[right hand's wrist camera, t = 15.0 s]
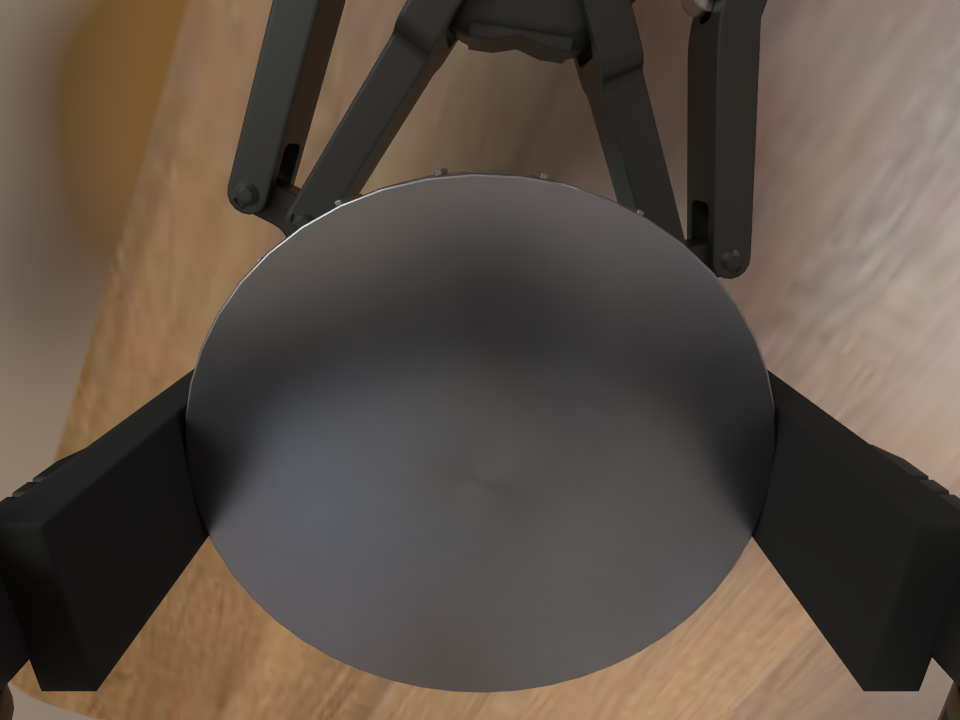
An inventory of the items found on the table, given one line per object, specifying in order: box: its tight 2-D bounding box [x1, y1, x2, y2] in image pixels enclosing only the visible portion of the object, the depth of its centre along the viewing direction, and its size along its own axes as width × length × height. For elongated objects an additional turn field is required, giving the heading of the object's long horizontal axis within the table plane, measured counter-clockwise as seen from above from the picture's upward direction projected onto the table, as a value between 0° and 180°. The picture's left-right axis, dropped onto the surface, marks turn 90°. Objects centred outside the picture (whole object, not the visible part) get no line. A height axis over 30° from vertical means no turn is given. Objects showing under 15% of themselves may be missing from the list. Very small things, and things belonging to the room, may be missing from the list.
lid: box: [185, 168, 776, 693], centre depth 11 cm, size 11×11×2 cm
